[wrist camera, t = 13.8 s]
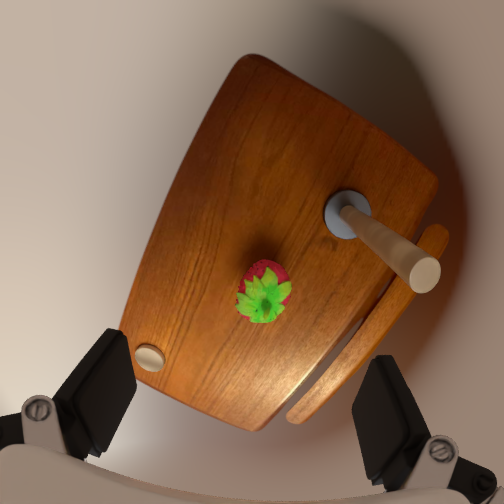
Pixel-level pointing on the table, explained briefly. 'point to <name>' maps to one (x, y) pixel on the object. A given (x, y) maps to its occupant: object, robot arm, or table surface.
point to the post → (380, 239)
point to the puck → (150, 358)
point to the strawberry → (263, 292)
